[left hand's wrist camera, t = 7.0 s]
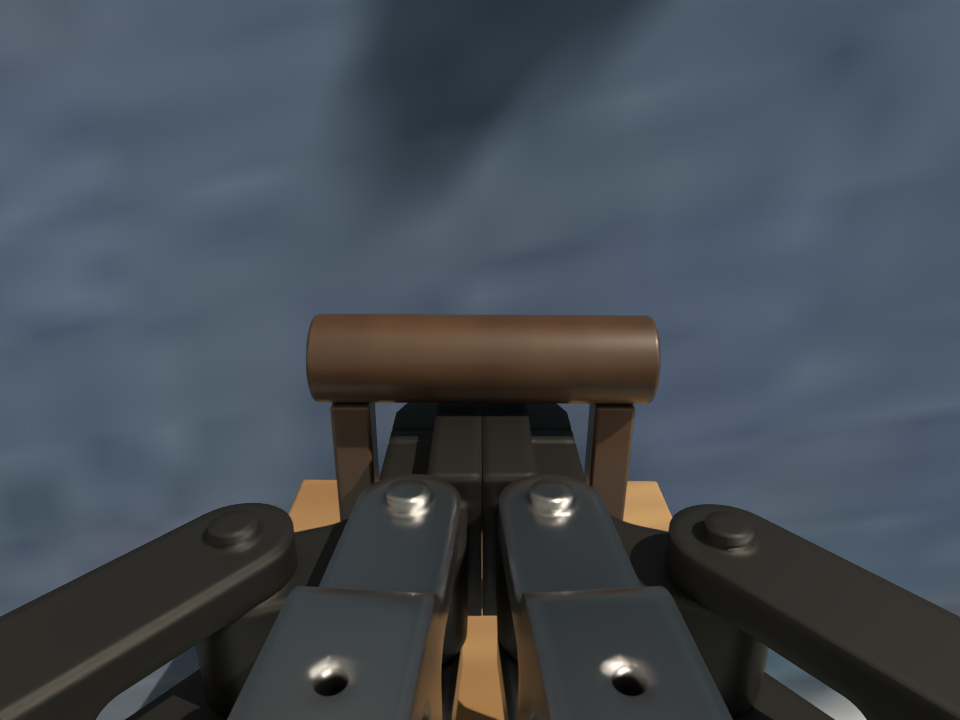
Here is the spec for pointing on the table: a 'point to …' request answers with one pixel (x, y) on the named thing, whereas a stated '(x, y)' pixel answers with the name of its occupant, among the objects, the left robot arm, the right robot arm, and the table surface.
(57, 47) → the table surface
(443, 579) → the left robot arm
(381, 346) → the drawer
